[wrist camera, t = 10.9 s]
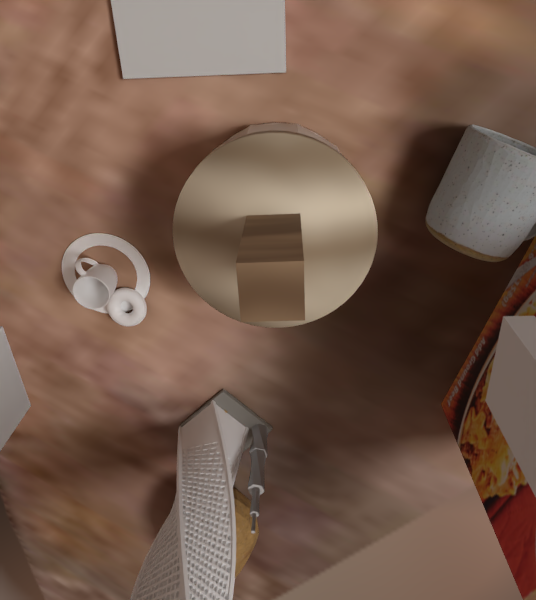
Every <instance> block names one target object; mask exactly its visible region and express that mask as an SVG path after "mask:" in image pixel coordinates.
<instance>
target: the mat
mask: <svg viewBox="0 0 536 600" xmlns="http://www.w3.org/2000/svg"><path fill="white" fill-rule="evenodd" d="M111 5H112V11H113V17H114V24H115V30H116V37H117V43H118V49H119V56H120V62H121V68H122V75H123V79H131V78H156V77H182V76H207V75H233V74H258V73H283V72H286V38H285V0H111Z"/></svg>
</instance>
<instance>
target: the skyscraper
mask: <svg viewBox="0 0 536 600" xmlns="http://www.w3.org/2000/svg"><path fill="white" fill-rule="evenodd" d="M271 430H272V426H271V425H269V424H268V423H267V422H265V421H264V420H263V419H262V418H260V417H259V416H258V415H256V414H255V413H254V412H253V411H251V410H250V409H249V408H247V407H246V406H245V405H244V404H242V403H241V402H240V401H238V400H237V399H236V398H235V397H233V396H232V395H231V394H229V393H228V392H227V391H226V390H224V389H222V390H221V391H220V392H219V393H218V394H217V395H215V396H214V397H213V398H212V399H211V400H209V401H208V402H207V403H206V404H205V405H203V406H202V407H201V408H200V409H199V410H197V411H196V412H195V413H194V414H193V415H191V416H190V417H189V418H188V419H187V420H185V421H184V422H183V423H182V424H181V425H179V430H178V447H177V492H176V496H175V500H174V503H173V506H172V509H171V512H170V514H169V515H168V517H167V519H166V520H165V522H164V524H163V525H162V527H161V529H160V530H159V532H158V534H157V536H156V538H155V540H154V542H153V543H152V545H151V548H150V550H149V552H148V554H147V556H146V558H145V560H144V563H143V565H142V567H141V569H140V572H139V575H138V577H137V580H136V583H135V586H134V588H133V592H132V595H131V598H130V600H233V591H234V582H235V566H236V518H235V504H234V494H233V485H234V482H235V478H236V475H237V471H238V467H239V464H240V460H241V457H242V453H243V452H244V451H245V450H246V449H248V448H249V447H250V446H251V448H250V452H249V453H250V456H251V472H250V478H249V483H248V491H249V493H250V494H251V495H252V501H251V508H250V516H251V517H252V527H251V533H253V534H254V533H255V526H256V517H257V516H259V496H260V495H261V494H262V493H263V492H264V465H265V460H266V457H268V455H267V436H268V433H269V432H270V431H271Z"/></svg>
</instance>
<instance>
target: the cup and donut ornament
mask: <svg viewBox="0 0 536 600" xmlns="http://www.w3.org/2000/svg"><path fill="white" fill-rule="evenodd" d="M99 245H102V246H109V247H113V248H115V249H117V250H119V251H121V252H122V253H124V254H125V255H126V256H127V257H128V258H129V259H130V260H131V261H132V263H133V265H134V267H135V269H136V272H137V285H136V288H135V290H133V289H130V288H119V289H117V290H115V288H116V286H117V280H118V278H117V273H116V271H115V270H114V269H113V268H112V267H111V266H109V265H106V264H98V263H97V262H96V261H95V260H93V259H90V258H81V259H79V260H77V258H78V256H79V255H80V254H81V253H82V252H83V251H84V250H86V249H87V248H90V247H93V246H99ZM76 260H77V261H76ZM81 262H86V263H89V264H91V265H93V267H91V268H90V269H88V270H87V271H84V270H83V268H82V266H81ZM75 268H76V271H77V272H78V273H79V274H80V275H81V276H80V277H79V278H78V279H76V276H75ZM62 275H63V279H64V281H65V284H66V286H67V288H68V289H69V291H70V292H71V293H72V295H73V296H74V297H75V299H76V301H77V302H78V303H79V304H81V305H82V306H84V307H86V308H88V309H93V310H95V311H98V312H102V313H108V314H109V315H110V317H111V318H112V319H113V320H114V321H115V322H116V323H118V324H120V325H123V326H135V325H137V324H139V323H140V322H142V320H143V319H144V318H145V316H146V311H147V306H146V302H145V300H144V299H145V297H146V296H147V294H148V291H149V287H150V272H149V269H148V266H147V263H146V261H145V260H144V258H143V256H142V255H141V254H140V252H139V251H138V250H137V249H136V248H135V247H134V246H132V245H131V244H130V243H128V242H127V241H125V240H123V239H121V238H119V237H117V236H114V235H110V234H105V233H93V234H88V235H84V236H82V237H80V238H78V239H76V240H75V241H74V242H72V243H71V244H70V245H69V247H68V248H67V249H66V251H65V253H64V256H63V259H62ZM132 309H133V311H132V312H131V313H125V312H127V311H130V310H132Z"/></svg>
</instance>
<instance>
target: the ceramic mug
mask: <svg viewBox="0 0 536 600" xmlns="http://www.w3.org/2000/svg"><path fill="white" fill-rule="evenodd" d="M425 222H426V225H427V228H428V230H429V231H430V233H431V234H432V235H433V236H434V237H435V238H437V239H438V240H439V241H441V242H442V243H444V244H445V245H447V246H449V247H450V248H452V249H454V250H456V251H458V252H460V253H462V254H465V255H467V256H470V257H472V258H475V259H479V260H483V261H489V262H499V261H503V260H505V259H507V258H508V257H509V256H510V255H512V254H513V253H514V251H515V250H516V249H517V248H518V247H519V246H520V245H521V243H522V242H523V241H525V240H529V239H531V238H533V237H535V236H536V148H535V147H532V146H530V145H528V144H526V143H523V142H521V141H518V140H515V139H513V138H510V137H508V136H506V135H503V134H501V133H498V132H495V131H493V130H489V129H487V128H483V127H480V126H476V125H469V126H468V127H467V128H466V130H465V132H464V134H463V137H462V139H461V141H460V143H459V145H458V147H457V149H456V151H455V153H454V155H453V157H452V159H451V161H450V163H449V165H448V168H447V170H446V172H445V174H444V176H443V178H442V180H441V183H440V185H439V187H438V188H437V190H436V192H435V194H434V196H433V198H432V200H431V203H430V205H429V208H428V212H427V215H426V220H425Z"/></svg>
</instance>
